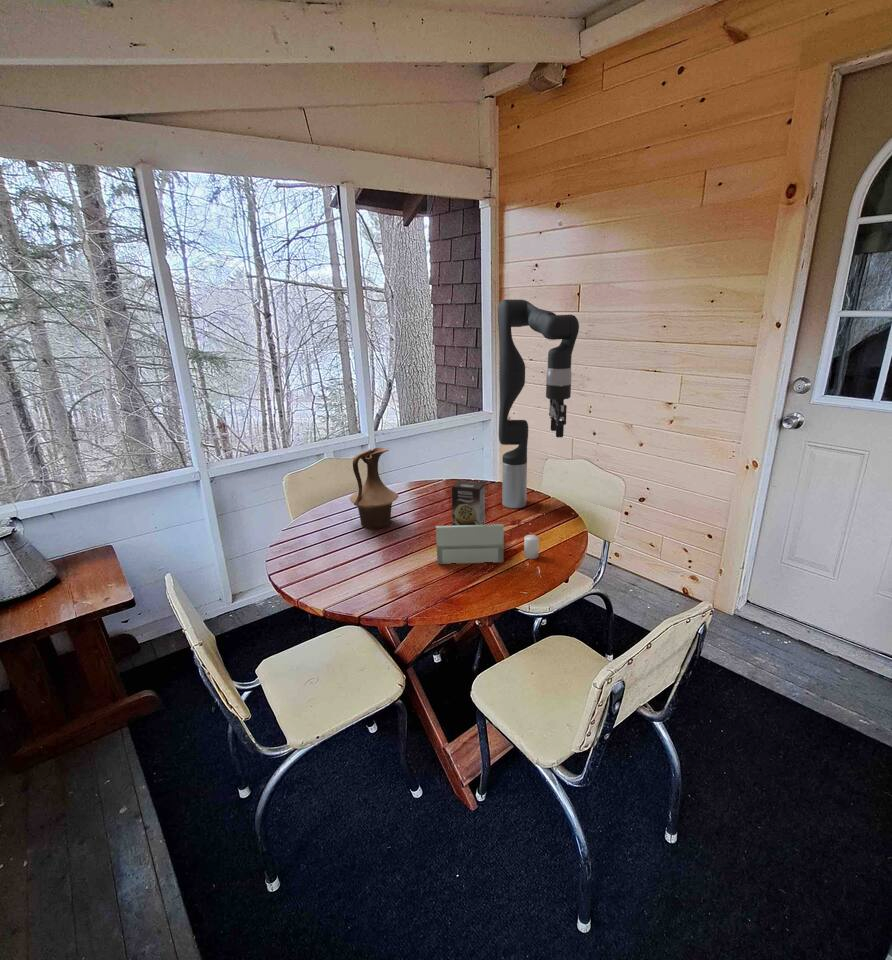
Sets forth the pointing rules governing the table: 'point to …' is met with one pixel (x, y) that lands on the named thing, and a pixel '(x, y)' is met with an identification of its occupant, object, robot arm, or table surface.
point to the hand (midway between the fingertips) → (556, 433)
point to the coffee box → (468, 503)
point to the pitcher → (372, 492)
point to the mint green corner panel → (470, 543)
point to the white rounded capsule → (531, 546)
